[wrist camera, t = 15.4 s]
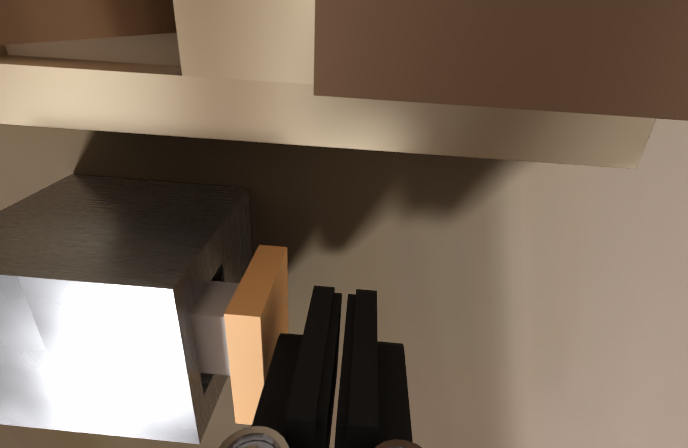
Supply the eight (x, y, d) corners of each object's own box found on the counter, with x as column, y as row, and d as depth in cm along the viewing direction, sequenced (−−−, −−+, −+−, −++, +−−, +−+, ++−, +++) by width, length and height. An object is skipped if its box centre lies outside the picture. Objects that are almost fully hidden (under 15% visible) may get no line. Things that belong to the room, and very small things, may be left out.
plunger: (287, 246, 11) (260, 316, 9) (288, 342, 13) (266, 426, 10) (121, 233, 12) (45, 298, 9) (143, 329, 13) (84, 408, 11)
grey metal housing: (248, 187, 13) (172, 289, 8) (255, 307, 16) (199, 444, 11) (71, 174, 13) (-106, 265, 8) (104, 294, 16) (-21, 422, 11)
